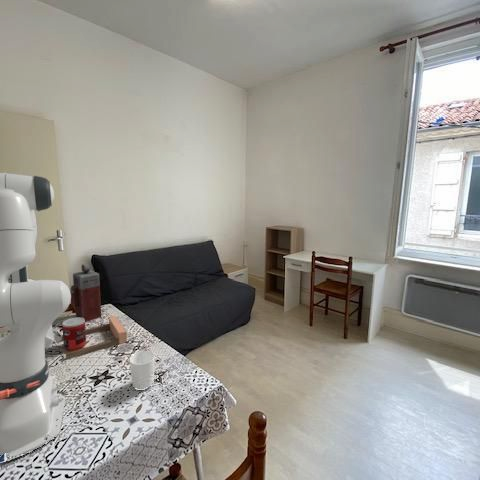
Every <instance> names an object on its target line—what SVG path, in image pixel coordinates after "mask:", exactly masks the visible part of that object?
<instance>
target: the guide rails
mask: <svg viewBox="0 0 480 480" xmlns="http://www.w3.org/2000/svg"><path fill="white" fill-rule="evenodd" d="M85 330H86V336H88V335H92V334H94V333H99V332H103V331H107V330H111V329H110V324H109V323H106V324H102V325H98V326H93V327H89V328H85ZM60 335H61V337H62V339H61V342H64V341H63V334H60ZM117 345H120V344H119V339H118V338H117V339H116V338H114V339H110V340H107V341H103V342H100V343H96V344H93V345H89V346H84V347H82V348H81V349H78V350H74V351H68V352H65V359H66V360H70V359H74V358H77V357H80V356H84V355H88V354H90V353H94V352H97V351H101V350H104V349H108V348H110V347H113V346H117Z"/></svg>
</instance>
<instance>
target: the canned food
mask: <svg viewBox="0 0 480 480" xmlns="http://www.w3.org/2000/svg"><path fill="white" fill-rule="evenodd" d="M61 325H62V327H61V328H62V329H61V331H62V335H63V341H62V342H63V348H64V350H66V351H68V352H71V351H75V350H78V349H82V348H85V347H86V344H87V335H86V322H85V319H84V318H80V317H76V316H75V317H71V318H67V319H66V320H63V322H62V324H61Z"/></svg>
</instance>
